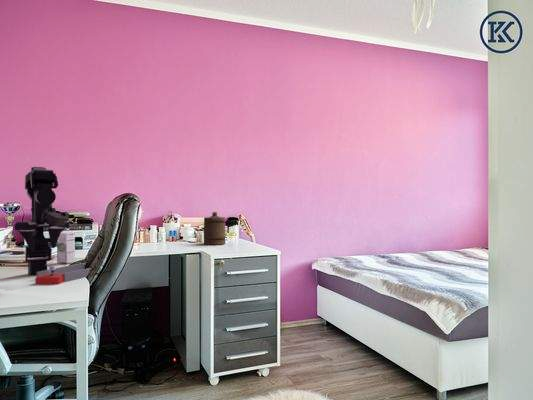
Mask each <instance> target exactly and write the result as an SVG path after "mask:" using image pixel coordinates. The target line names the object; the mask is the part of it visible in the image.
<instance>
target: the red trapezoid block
mask: <svg viewBox="0 0 533 400" xmlns="http://www.w3.org/2000/svg"><path fill="white" fill-rule="evenodd" d="M55 268H56V267H55V266H54V265H51V266H49V268H48V270H49V274H45V275H42V276H39V277H37V276H36V277H35V283H34V284H35V285H36V286H37V285H60V284H63V283H65V282H64V275H62V274H55V272H56V269H55Z"/></svg>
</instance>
